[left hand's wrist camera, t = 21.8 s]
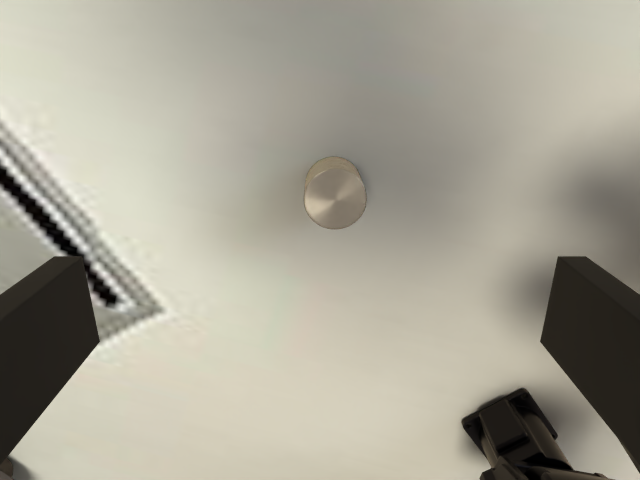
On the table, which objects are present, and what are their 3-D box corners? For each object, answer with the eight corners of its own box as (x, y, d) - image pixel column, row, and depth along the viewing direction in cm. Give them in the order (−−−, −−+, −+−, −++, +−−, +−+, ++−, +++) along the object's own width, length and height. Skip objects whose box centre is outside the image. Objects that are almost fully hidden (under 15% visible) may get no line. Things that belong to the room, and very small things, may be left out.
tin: (328, 221, 34) (329, 241, 30) (294, 180, 33) (290, 194, 29) (372, 188, 33) (379, 204, 29) (338, 145, 32) (340, 155, 28)
